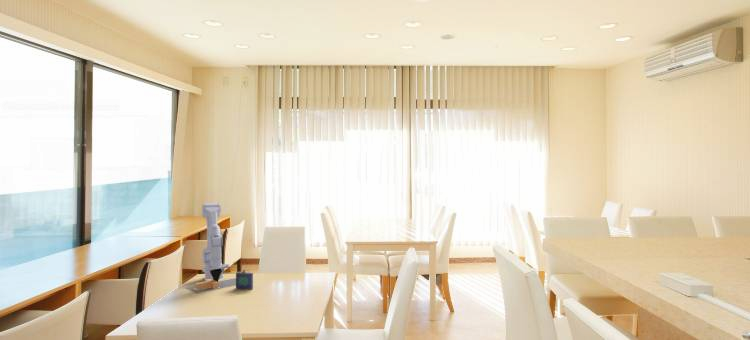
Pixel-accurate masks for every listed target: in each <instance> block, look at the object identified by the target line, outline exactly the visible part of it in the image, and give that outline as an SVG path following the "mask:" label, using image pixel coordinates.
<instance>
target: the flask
mask: <svg viewBox="0 0 750 340" xmlns="http://www.w3.org/2000/svg"><path fill="white" fill-rule="evenodd" d="M235 278H236V285H235V290H250V291H251V290H253V289H254V273H253V271H251V272H247V269H242V271H237V272H236V273H235Z"/></svg>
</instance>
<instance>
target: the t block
mask: <svg viewBox="0 0 750 340" xmlns="http://www.w3.org/2000/svg"><path fill="white" fill-rule="evenodd" d="M194 286H195V289H197V290H200V289H205V288H213V289H215V288H219V282H217V281H214V280H212V279H206V280H205V279H204V281H200V282H196V283H195V285H194ZM215 290H216V289H215Z"/></svg>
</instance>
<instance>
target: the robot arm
mask: <svg viewBox="0 0 750 340" xmlns="http://www.w3.org/2000/svg"><path fill="white" fill-rule="evenodd" d="M201 206H202V207H201V215H202V218H203V219H205V221H206V239H207V240H206V243H207V246H206V247H205V248H204V249H203V250H202V254H201V259H202V263H203V264H204V267H202V272H203V273H204V277H203V276H202V280H203V279H204V281H205V280H206V279H212V280H214V281H217V282H218V281H220V279H223V278H224V277H223V276H224V275H223V274H224V272H223V271H224V269H229V268H230V264H228V263H226V264H223V263H222V247H223V242H224V241H223V239H224V238H223V236H222V234H221V228H220V226H219V225H218V218H220V215H221V211H222V207H221V203H220V202H216V203H203V204H202V205H201Z"/></svg>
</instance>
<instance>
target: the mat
mask: <svg viewBox="0 0 750 340" xmlns="http://www.w3.org/2000/svg"><path fill="white" fill-rule="evenodd" d="M218 282H219V288H215V289H213V288H205V289H200V290H197V289H195V285H194V286H192V285H191V286H188V287H185V289H186V290H188V291H191V292H194V293H195V294H200V293H206V292H210V291H215V290H220V289H225V288H229V287H234V286H235V287H236V277H234V278H228V279H224V280H218Z"/></svg>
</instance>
